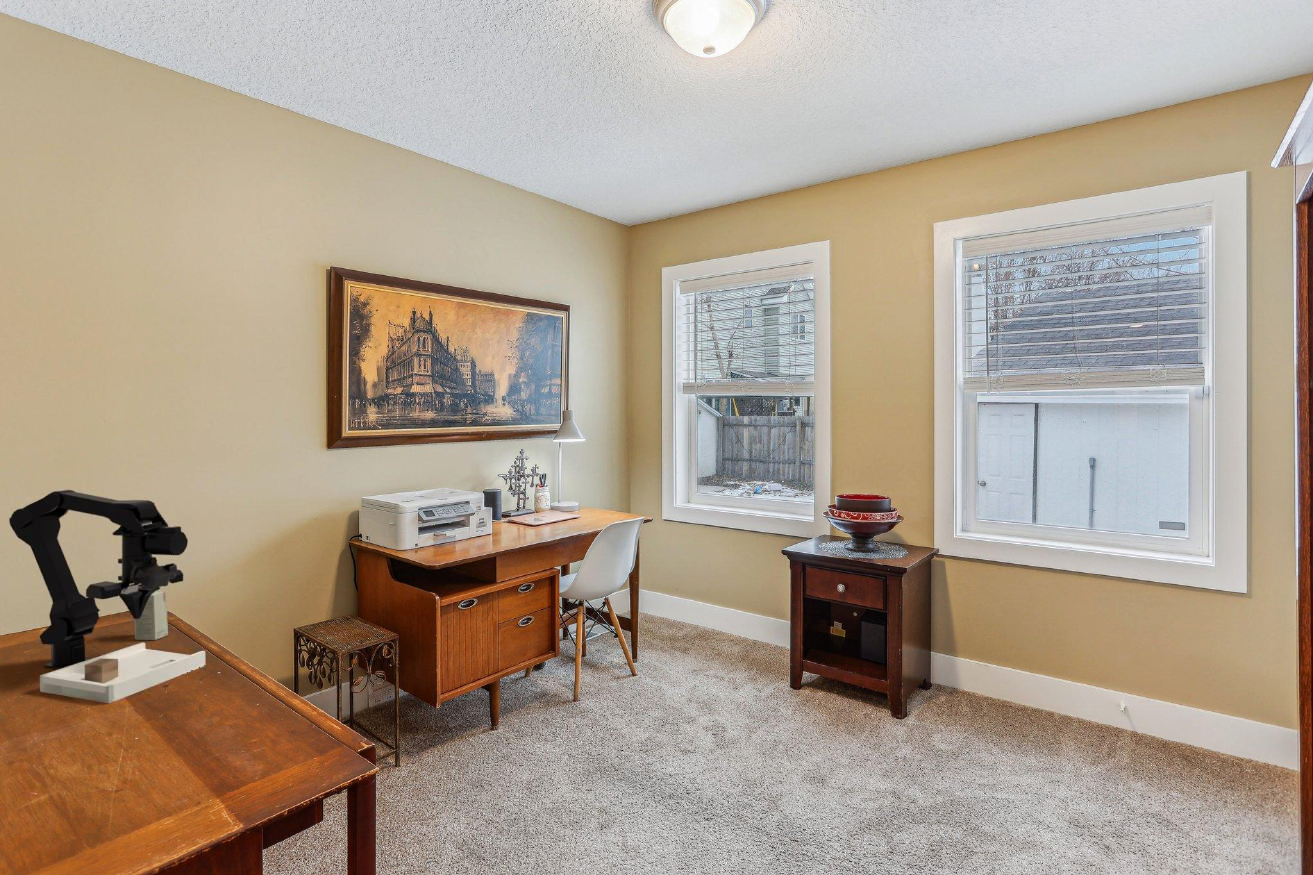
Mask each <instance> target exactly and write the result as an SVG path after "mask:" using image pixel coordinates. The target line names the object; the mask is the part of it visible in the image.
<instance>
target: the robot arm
mask: <svg viewBox="0 0 1313 875" xmlns="http://www.w3.org/2000/svg"><path fill="white" fill-rule="evenodd" d="M69 511H72V512H76V513H77V512H79V513H82V514H86V515H87V514H88V515H93V516H98V517H103V518H106V519H108V520H109V521H110V522H111V523H112V524H115V525H118V526H119V527H118V528H117V529H116V530H115V531H113V532H112V536H120V537H121V557H120V558H117V564H121V575H118V576H117V581H120V582H115V581H109V580H105V581H101V582H95V583H91V584H89V585H88V586H87V588H86V590H85V595H83V594H82V593H80V592H79V589H78V586H77V584H76V581H75V578H74V576H73V574H72V571H71V568H70V566H69V564H68V561H67V560H66V559H67V558H66V556H65V554H64V552H63V549H62V546H61V545H60V542H59V539H58V538H59V533H60V530H61V520H60V519H61V518H62V517H64V516H65V515H67V514H68V513H69ZM8 522H9V525H10V527H11V529H12V531H13V532H14V534H15V536H16V537H17V538H18V539H19V540H21V541H22V542H24V543H25V544H26V545H28V546H30V549H31V551H32V554H33V556H34V558H35V561H36V564H37V565H38V566H37V567H38V568H39V571H40V573H41V576H42V579H43V581H44V584H45V586H46V588H47V591H48V593H49V596H50V598H51V601H52V604H51V607H50V611H49V620H50V625H49V626H48V627H47V628H46V629H45V630H44V631H43V632H42V633H41V634H40V635H39V639H40V641H41V644H42V645H50V648H51V649H50V652H51V653H50V656H51V657H50V658H51V661H50V662H49V663H48V662H47V663H45V664H44V665H43V667H44V668H50V669H56V670H59V669H62V668H65V667H68V666H71V665H74V664H77V663H80V662H84V661H87V660H90V659H93V657H86V643H85V641H86V639H85V637H84V636H86V635H90V634H92V633H93V632H94V629H95V626H96V625H97V623H98V620H100V614H99V612H100V611H101V610H100V609H99V607H98V605H97V604H96V599H98V600H109V599H111V598H117V597H119V598H120V599H121V600H122V602H123V604H124V606H126V607H127V609H128V612H129V613H130V615H131V616H132V617H133V620H134V619H139V618H141V615H142V613H143V611H144V608H145V606H146V604H147V601H148V599H149V598H150V596H151V595H152V594H153V593H154V592H155V591H160V589H161V587H167V586H168V585H169V584H176V583H181V582H184V572H183V571H182V570H181V569H178V566H177V564H176V563H173V562H172V563H166V564H164V565H159V564H158V560H157V557H156V556H181V555H182V554H184V552H185V551H186V549H187V547H188V545H189V544H188V543H189V540H188V538H187V535H186V533H185V532H183V531H182V527H181V526H179V525H178V526H169V524H168V523H167V521H166V520H165V518H164V517H163V516H162V514H161V513H160V511H159V510H158V508H157V507H156V505H155V502H153V501H151V500H149V499H148V500H147V499H128V500H122V499H121V500H120V499H113V498H108V497H104V496H98V495H93V494H88V493H87V494H86V493H84V492H83V493H82V492H77V491H75V490H71V489H64V490H56V491H52V492H50V493H48V494H47V495H45V496H44V497H42V498H40V499H38V500H36V501H34V502H32V503H29V504H28V505H27V504H26V505H25V506H24V507H23V508H18V509H17V508H16V510H14V511H13V513H12V514H11V516H10V517H9V520H8ZM153 555H156V556H153Z"/></svg>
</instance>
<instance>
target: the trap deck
mask: <svg viewBox="0 0 1313 875" xmlns="http://www.w3.org/2000/svg"><path fill="white" fill-rule="evenodd" d="M101 658H105V659H118V677H117V678H114V679H112V680H110V681H108V682H106V683H98V682H92V681H86V680H85V665H86V664H88V663H91V662H93V661H96V660H98V659H101ZM204 665H205V666H206V651H205V650H201V651H198V652H195V653H192V654H184V653H179V652H178V653H177V652H171V651H163V650H155V649H148V648H146V643H145V642H139V643H136V644H134V645H131V646H130V645H129V646H127V647H124V648H121V649H118V650H115V651H111V652H108V653H105V654H103V655H100V656H97V657H92V659H90V660H87V661H84V662H80V663H77V664H74V665H71V666H68V667H65V668H62V669H56V670H53V671H51V672H47V673H43V674H41V675H39V692H41V693H45V694H53V695H58V696H64V697H70V698H74V699H82V700H87V701H93V702H100V703H104V704H111V703H114V702H116V701H119V700H122V699H124V698H127V697H129V696H131V695H134V694H136V693H139V692H141V691H144V690H147V689H150V688H152V687H154V686H157V685H160V684H162V683H165V682H168V681H169V680H172V679H175V678H177V677H179V676H182V674H183V675H185V674H188V673H190V672H192V671H191V670H193V671H195V670H198V669H200V668H202V667H205V666H204ZM199 667H200V668H199ZM187 672H188V673H187Z"/></svg>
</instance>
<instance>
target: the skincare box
mask: <svg viewBox="0 0 1313 875" xmlns="http://www.w3.org/2000/svg"><path fill="white" fill-rule="evenodd" d="M167 600H168V599H167V590H166V591H160V590H157V591H155V592H154V593H153V594H152V595H151V596H150V598H149V599H148V601H147V604H146V606H145V608H144V611H143V613H142V615H141V618H139V619H134V618H133V622H134V640H138V641H139V640H140V641H141V640H144V641H157V640H159V639H162V638H164V637H166V636H169V629H168V628H169V626H168V625H169V624H168V605H167V604H168V601H167Z"/></svg>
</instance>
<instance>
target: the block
mask: <svg viewBox="0 0 1313 875" xmlns="http://www.w3.org/2000/svg"><path fill="white" fill-rule="evenodd" d="M117 677H118V659H105V658H101V659H98V660H96V661H93V662H91V663H88V664H86V665H85V680H86V681H92V682H98V683H106V682H108V681H110V680H112V679H114V678H117Z"/></svg>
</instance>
